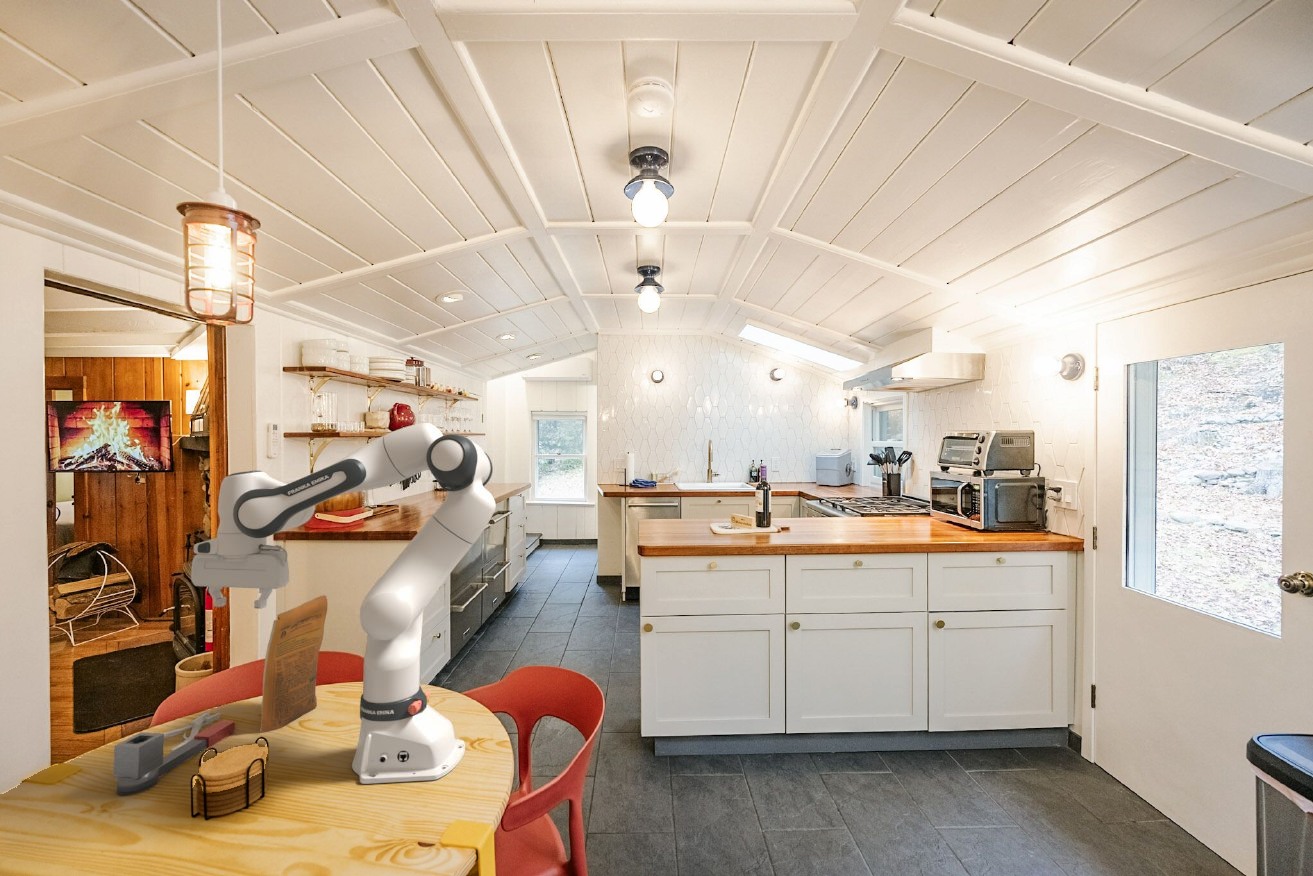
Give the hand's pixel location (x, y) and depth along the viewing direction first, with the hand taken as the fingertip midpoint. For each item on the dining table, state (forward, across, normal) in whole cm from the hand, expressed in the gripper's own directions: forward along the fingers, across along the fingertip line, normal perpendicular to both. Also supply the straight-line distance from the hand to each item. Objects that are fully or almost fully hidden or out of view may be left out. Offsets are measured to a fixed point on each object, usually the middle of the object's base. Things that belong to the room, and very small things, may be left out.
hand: (240, 607), depth 122 cm
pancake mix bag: (+31, -2, -15) cm, 35 cm away
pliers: (+32, +17, -6) cm, 36 cm away
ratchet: (+31, +8, +5) cm, 32 cm away
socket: (+28, +8, +14) cm, 32 cm away
